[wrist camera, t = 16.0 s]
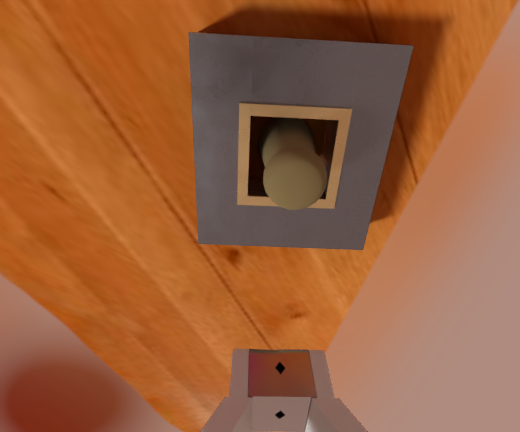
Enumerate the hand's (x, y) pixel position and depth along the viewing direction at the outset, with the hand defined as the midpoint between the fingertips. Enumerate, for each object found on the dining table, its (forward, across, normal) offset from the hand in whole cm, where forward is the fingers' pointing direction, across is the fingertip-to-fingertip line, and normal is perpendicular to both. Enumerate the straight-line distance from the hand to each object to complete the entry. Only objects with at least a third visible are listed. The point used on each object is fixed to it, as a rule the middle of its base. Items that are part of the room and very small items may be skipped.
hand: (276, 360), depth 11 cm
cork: (+27, -3, +1) cm, 27 cm away
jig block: (+27, -3, +1) cm, 27 cm away
